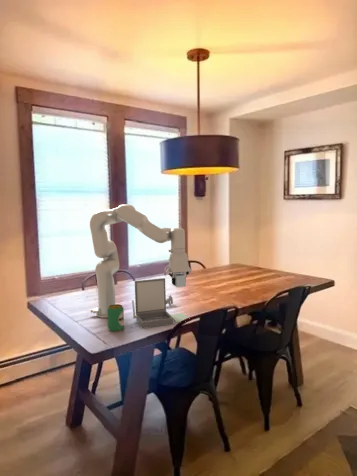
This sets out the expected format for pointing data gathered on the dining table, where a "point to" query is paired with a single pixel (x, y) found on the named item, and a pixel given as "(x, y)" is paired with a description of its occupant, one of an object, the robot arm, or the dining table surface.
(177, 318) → the mat
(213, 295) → the dining table surface
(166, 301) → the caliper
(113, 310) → the beverage can
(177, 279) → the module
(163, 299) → the equipment case
